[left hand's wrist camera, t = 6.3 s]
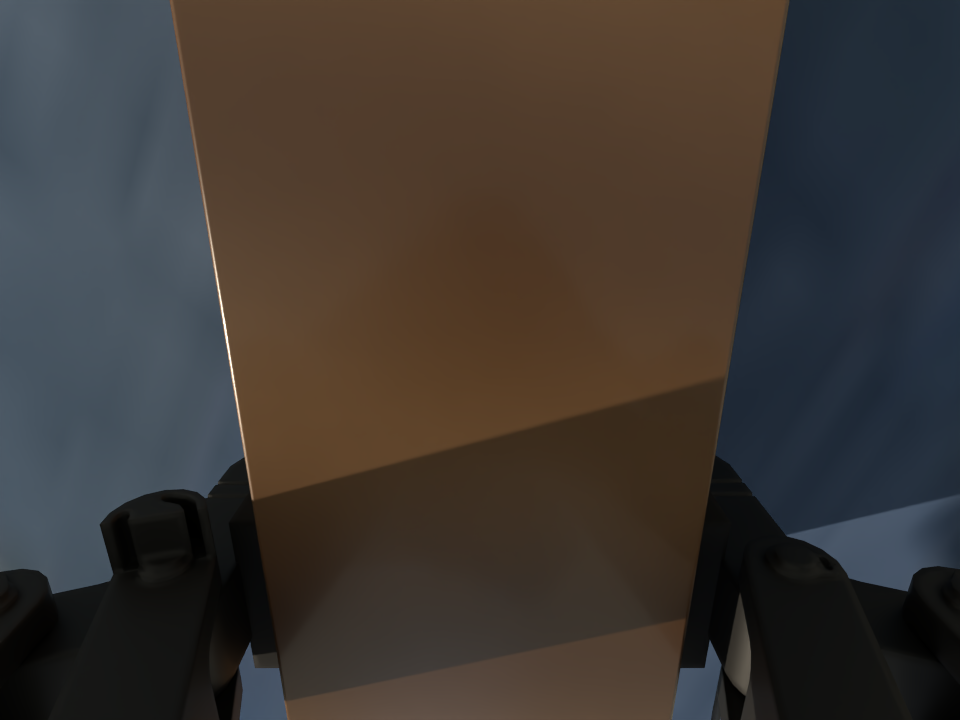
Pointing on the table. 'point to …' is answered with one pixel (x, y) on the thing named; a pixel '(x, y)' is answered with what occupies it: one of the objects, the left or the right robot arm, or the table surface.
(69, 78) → the table surface
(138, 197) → the table surface
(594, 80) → the beam
